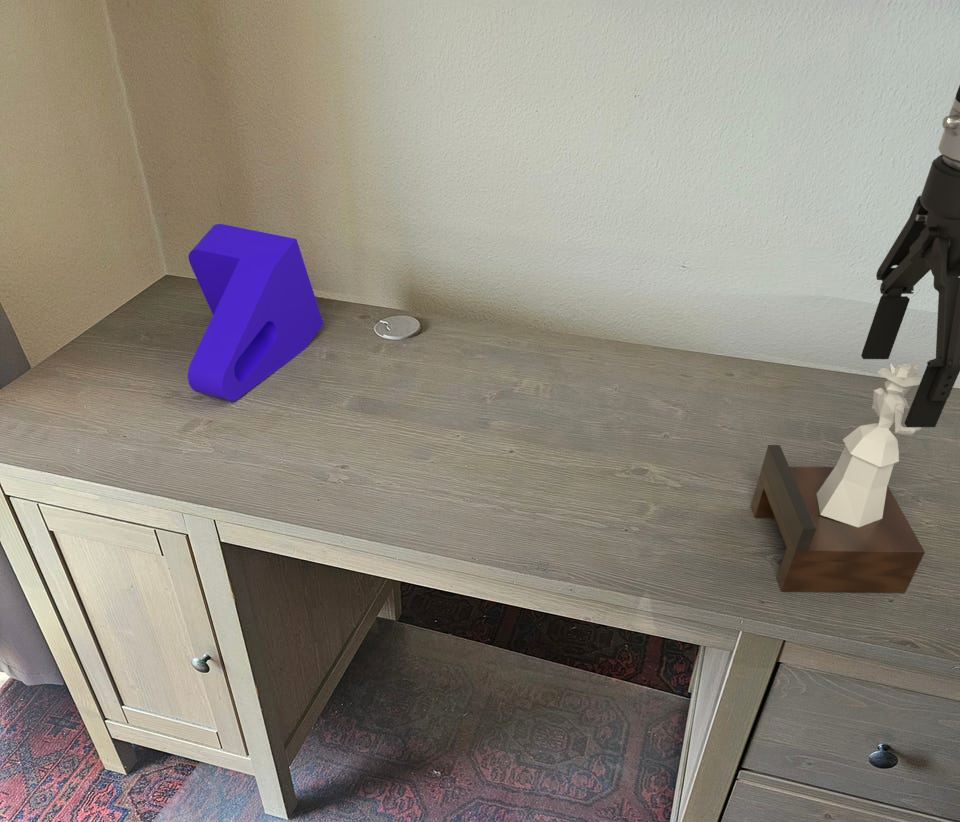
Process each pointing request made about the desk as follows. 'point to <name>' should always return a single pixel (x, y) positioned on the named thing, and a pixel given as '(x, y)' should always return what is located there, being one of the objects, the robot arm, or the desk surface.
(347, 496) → the desk surface
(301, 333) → the bracket
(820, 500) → the figurine
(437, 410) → the desk surface
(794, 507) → the brown wooden block
